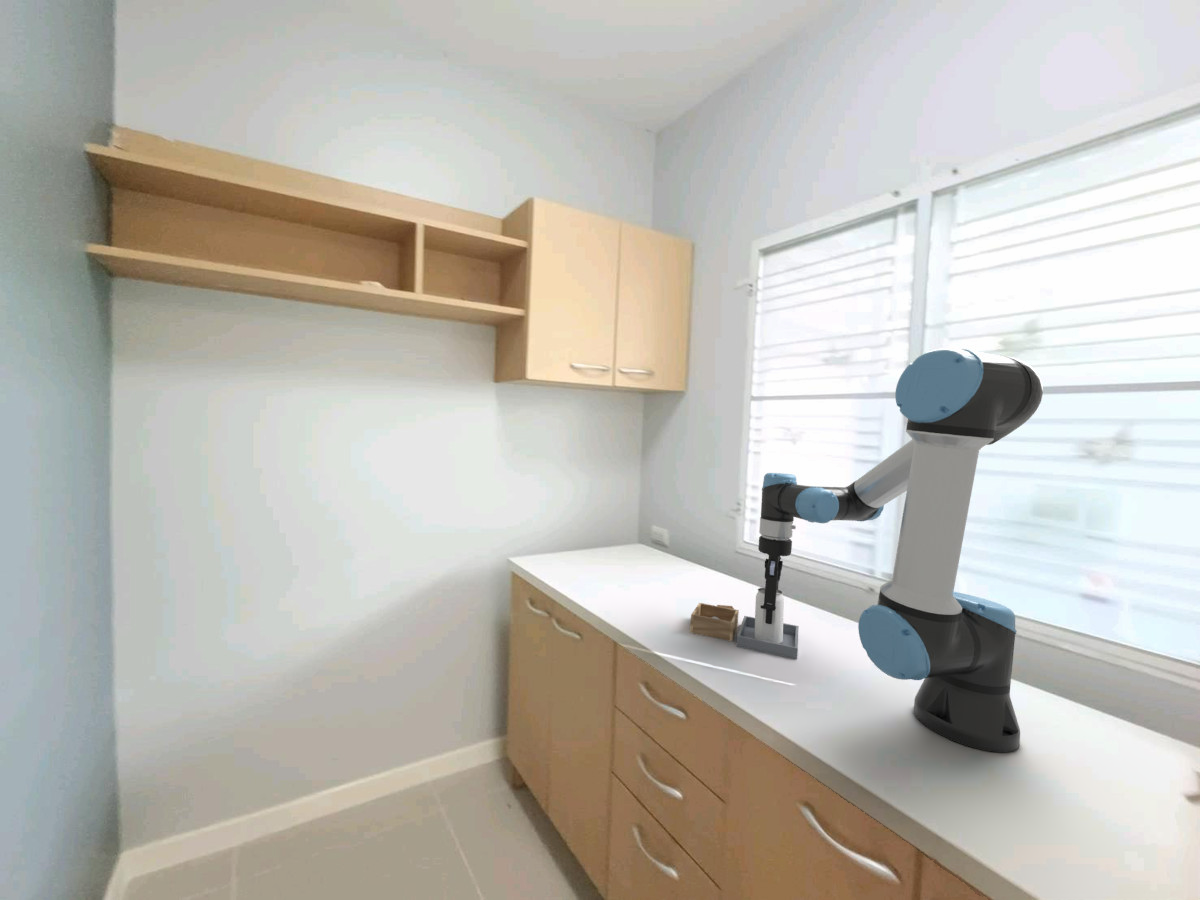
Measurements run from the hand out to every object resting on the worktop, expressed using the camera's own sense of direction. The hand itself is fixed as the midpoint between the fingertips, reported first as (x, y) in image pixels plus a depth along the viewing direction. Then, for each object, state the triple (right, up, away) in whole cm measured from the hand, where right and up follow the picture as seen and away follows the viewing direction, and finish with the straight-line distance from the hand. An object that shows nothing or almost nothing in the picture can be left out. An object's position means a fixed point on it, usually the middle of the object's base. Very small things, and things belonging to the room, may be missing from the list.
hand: (769, 629), depth 119 cm
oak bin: (-12, -2, +5) cm, 13 cm away
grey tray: (0, -3, 0) cm, 3 cm away
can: (0, -3, 0) cm, 3 cm away
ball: (-12, -2, +5) cm, 13 cm away
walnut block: (-8, -3, +12) cm, 15 cm away
